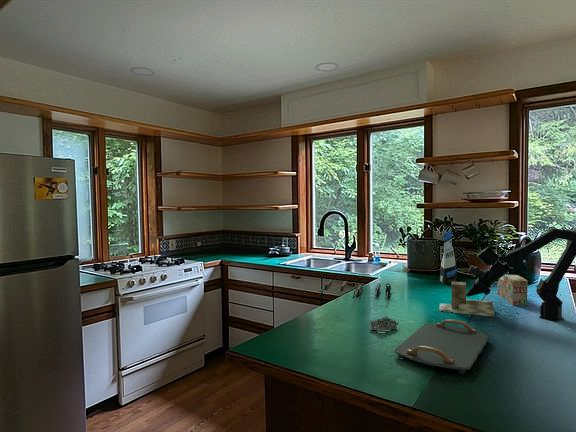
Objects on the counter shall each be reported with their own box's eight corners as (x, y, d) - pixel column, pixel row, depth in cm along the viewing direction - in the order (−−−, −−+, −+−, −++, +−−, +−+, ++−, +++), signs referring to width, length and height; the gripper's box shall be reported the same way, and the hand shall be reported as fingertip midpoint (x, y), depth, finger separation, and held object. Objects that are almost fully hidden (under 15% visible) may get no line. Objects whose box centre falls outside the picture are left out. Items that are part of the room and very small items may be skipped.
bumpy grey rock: (380, 335, 141) (380, 325, 141) (367, 329, 148) (366, 319, 148) (400, 329, 147) (400, 319, 146) (386, 324, 153) (386, 314, 153)
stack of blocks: (497, 294, 195) (497, 271, 195) (510, 294, 194) (510, 271, 194) (512, 305, 175) (512, 279, 174) (527, 306, 173) (527, 280, 173)
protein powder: (435, 283, 222) (435, 233, 221) (444, 276, 242) (443, 230, 241) (453, 285, 217) (452, 234, 215) (459, 277, 237) (459, 230, 236)
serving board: (427, 327, 149) (427, 312, 149) (493, 340, 135) (493, 323, 134) (389, 362, 118) (388, 343, 118) (467, 382, 104) (467, 361, 104)
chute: (492, 310, 168) (492, 301, 168) (494, 316, 159) (494, 307, 159) (439, 305, 177) (439, 297, 177) (439, 311, 168) (439, 302, 168)
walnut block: (465, 306, 171) (465, 282, 170) (466, 309, 165) (466, 285, 165) (451, 304, 173) (451, 281, 173) (451, 308, 168) (451, 284, 167)
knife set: (317, 300, 187) (317, 284, 187) (329, 288, 219) (329, 275, 219) (389, 306, 177) (389, 290, 177) (391, 292, 208) (391, 278, 208)
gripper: (478, 256, 173) (452, 278, 178) (481, 263, 156) (452, 287, 161) (498, 274, 171) (471, 296, 176) (502, 283, 154) (472, 306, 159)
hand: (466, 295), depth 168 cm, fingers closed, pressing on walnut block
